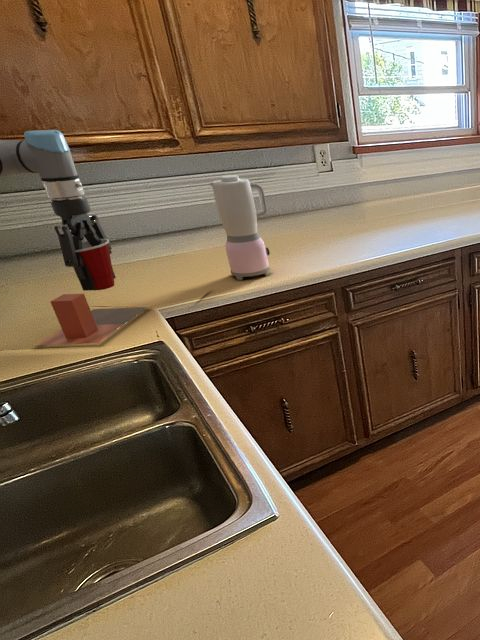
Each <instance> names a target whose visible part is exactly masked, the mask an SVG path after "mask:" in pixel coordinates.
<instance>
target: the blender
mask: <svg viewBox="0 0 480 640" xmlns="http://www.w3.org/2000/svg"><path fill="white" fill-rule="evenodd" d="M208 185H209V186H210V187H212V191H213V198H214V201H215V205H216V209H217V213H218V216H219V220H220V221H221V224H222V227H223V229H224V231H225V234H226V241H225V252H226V256H227V261H228V264H229V267H230V274H231V275H232V277H235V279H236V281H243V280H244V278H246V277H255V276H259V275H264V277H265V276H266V277H267V276H268V275H270V264H269V259H268V256H270V254H271V253H270V249H269V247H267V246H266V245H265V242H264V240H263V239H262V238H261V236H260V234H259V231H258V217H261V216H265V215H266V214H267V212H268V208H267V201H266V197H265V191H264V189H263V186H261V185H260V184H258V183H251V182H250V180H249V179H247V178H240V177H239V175H235V174H232V175H222V176H220V179H217V180H213V181H212V182H211V183H209V184H208ZM252 190H256V191H257V194H258V197H259V198H258V199H259V203H260V209H259V210H257V209H256V208H257V207H256V203H255V199H254V194H253V191H252Z"/></svg>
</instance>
